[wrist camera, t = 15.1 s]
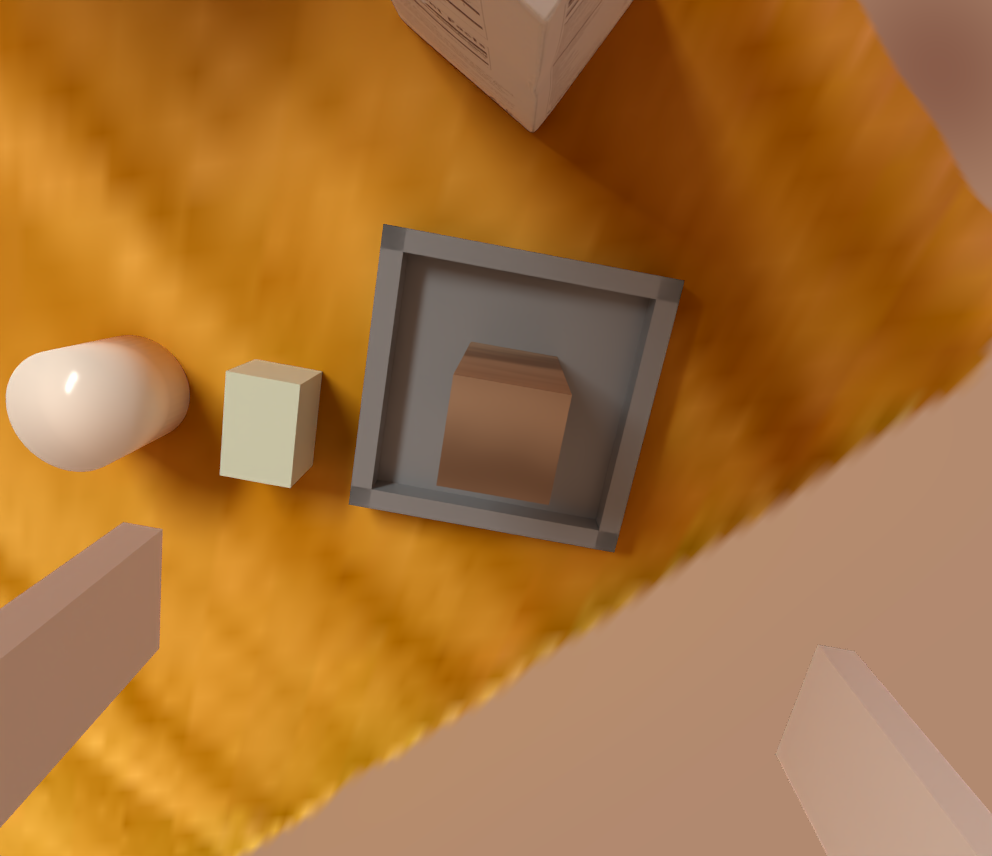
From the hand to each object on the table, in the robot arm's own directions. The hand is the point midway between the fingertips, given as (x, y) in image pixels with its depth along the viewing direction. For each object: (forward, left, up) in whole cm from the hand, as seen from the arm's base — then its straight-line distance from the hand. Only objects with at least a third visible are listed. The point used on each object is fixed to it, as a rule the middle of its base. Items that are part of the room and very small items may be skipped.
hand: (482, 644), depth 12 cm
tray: (0, 0, -25) cm, 25 cm away
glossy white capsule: (+4, -22, -25) cm, 34 cm away
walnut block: (0, 0, -25) cm, 25 cm away
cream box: (+4, -13, -25) cm, 29 cm away
